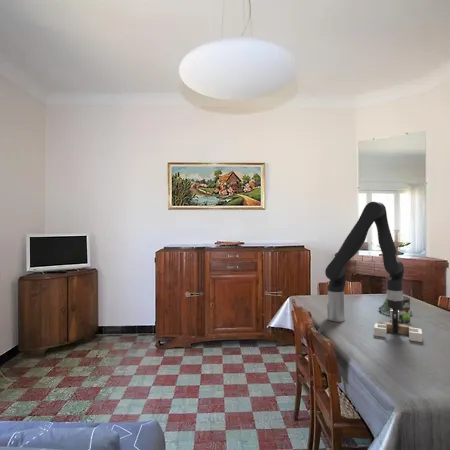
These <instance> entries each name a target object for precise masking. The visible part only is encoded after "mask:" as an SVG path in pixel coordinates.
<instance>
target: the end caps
mask: <svg viewBox="0 0 450 450" xmlns="http://www.w3.org/2000/svg"><path fill="white" fill-rule="evenodd" d="M387 332H388V331H387V325H386V324H378V323H377V322H376V323H374V326H373V336H376V337H384V338H387ZM408 340H409V341H413V342H419V343H423V330H422V328H418V327H417V328H416V327H414V328H411V327H409V335H408Z"/></svg>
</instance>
